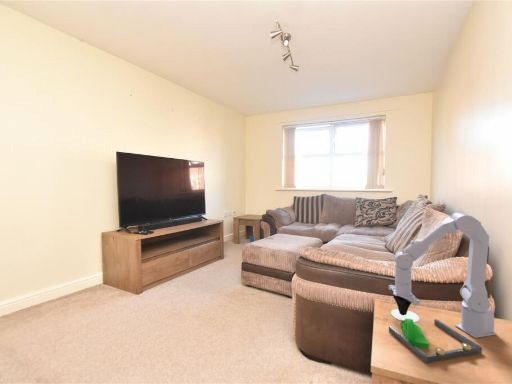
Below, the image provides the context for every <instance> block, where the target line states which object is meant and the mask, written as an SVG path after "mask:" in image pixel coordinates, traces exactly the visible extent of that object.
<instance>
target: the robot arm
mask: <svg viewBox="0 0 512 384" xmlns="http://www.w3.org/2000/svg"><path fill="white" fill-rule="evenodd" d="M458 231H460V232H462V233H463V234H464V235H466V236H467V237H468V238H469V247H468V259H467V270H466V279H465V280H464V281H463V286H462V287H461V288H460V290H459V293H460V296H461V297H462V302H461V312H460V313H461V317H460V320H461V323H456V324H454V326H455V327H457V328H458V329H460V330H462V331H463V332H465V334H466V333H467V334H468V335H470V336H471V337H473V338H475V339H477V338H482V337H483V338H484V337H489V336H490V337H491V336H495V335H497V334H498V333H497V332H496V331H495V315H494V311H492V309H491V308H490V306H491V303H490V300H489V298H488V290H487V287H486V285H485V284H486V276H487V275H486V274H487V265H488V255H489V254H488V253H489V245H490V244H489V242H490V236H489V234H488V233H487V231H486V230H485V228H484V227H483V225H482V222H481V221H479V220H478V219H476V218H475V217H474V216H472V215H469V214H466V213H465V212H461V211H456V212H454V213H452V214H450V216H447V217H446V218H445V219H443V220H442V221H441V222H440V223H439V224H438V225H437V226H436V227H435V228H433V229H432V230H431V231H430V232H429V233H428V234H426V235H425V236H424V237H423V238H420V239H414V240H413V239H412V240H411V241H410V244H408V245H407V246H405V247H404V248H402V249H400V251H397V252H396V253H395V255H394V257H393V258H394V261H395V266H394V268H395V269H394V285H393V284H389V285H388V290H389V291H392V292H393V293H392V294H393V299H394V301H395V303H396V305H397V309H398V313H399V315H400V316H406V315H407V313H408V311H409V308H410V306H411V305H412V306H413V305H414V307H415V306H420V300H419V299H418V298H417V297H416V296H415V295H414V294H413V293H412V267H413V265H414V262H416V261H417V260H418V259H419V258H421V257H422V256H424V255H425V254H426V253H427V252H429V251H430V250H429V249H430V246H432V244H434V243H435V242H437V241H439V240H440V239H441V238H443V237H444V236H446V235H447V234H459V232H458Z"/></svg>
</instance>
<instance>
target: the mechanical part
mask: <svg viewBox="0 0 512 384" xmlns="http://www.w3.org/2000/svg"><path fill="white" fill-rule="evenodd" d="M401 327H402V328H401ZM400 328H401V329H402V332H403V336H404V337H405V338H407V339H408V340H409V341H410V342H411V343H413V344H414V345H415V346H416V347H418V348H419V349H420V348H421V349H426V350H427V349H428V350H429V342H428V340H427V338H426V336H425V333H424V332H423V330H422V328H421V326H419V325H417V324H415V322H414V320H413V318H412V319H411V318H405V319H404V321H400Z"/></svg>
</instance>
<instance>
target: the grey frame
mask: <svg viewBox="0 0 512 384" xmlns="http://www.w3.org/2000/svg"><path fill="white" fill-rule="evenodd" d="M433 321H434V323H433V324H434V326H436V327H437V328H439V329H441V330H442V331H444V332H445V333H447V334H448V335H450V336H452V337H453V338H455V339H456V340H457V341H459V342H460V343H461V348H457V349H451V350H445V349H444V348H442V347H438V346H437V347H435V349H434V350H435V351H434V353H427V354H426V353H425V352H424V351H423V350H422V349H420V347H416V346H415V345H414V344H413V343H411V342H410V341H409V340H408V339H407V338H405V336H404V334H401V333H400V332H399V331H398V330H397V329H395V327H393V326H392V325H389V326H388V332H389V333H390V334H391V335H392V336H394V337H395V338H396V339H397V340H398V341H399V342H400V343H402V344H403V345H404V347H406V348H408V349H409V351H411V352H412V353H413V354H415V355H416V356H417V357H418V358H419V359H420V360H422V361H423V362H424V363H425V364H430V363H436V362H441V361H446V360H453V359H457V358H463V357H469V356H475V355H480V354H482V352H483V347H482V346H481V345H479V344H477V343H475V341H472V340H471V339H469V338H467V337H466V336H464V335H462V334H461V333H460V332H458V331H456V330H455V329H453V328H452V327H450V326H448V325H447V324H445V323H443V322H442V321H440V320H439V319H437V318H435V319H433Z"/></svg>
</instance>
